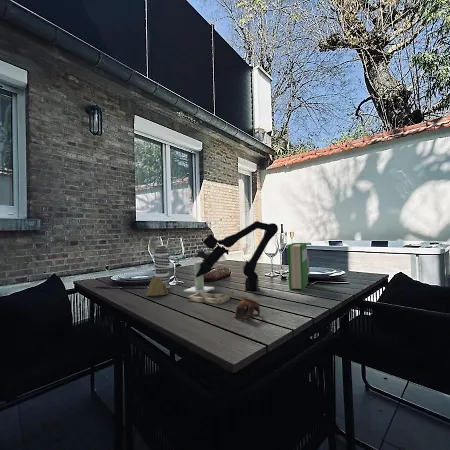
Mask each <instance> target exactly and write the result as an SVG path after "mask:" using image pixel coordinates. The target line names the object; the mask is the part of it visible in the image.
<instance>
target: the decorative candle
mask: <svg viewBox="0 0 450 450" xmlns="http://www.w3.org/2000/svg"><path fill="white" fill-rule="evenodd" d="M153 258H154V259H153V261H154V262H153V264H154V269H155V273H154V274H155V275H154V276H157V277H158V278H159V279H160V280H161V281H162V282H163V283H164V284H165V285H166V287H167V288H168V289H170V284H171V282H170V281H171V280H170V277H171V276H170V272H169V271H170V270H169V269H170V264H169V263H170V261H169V260H170V259H171V258H170V255H169V247H168V246H167V245H164V244H162V245H156V246H155V247H154V255H153Z"/></svg>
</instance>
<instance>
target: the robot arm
mask: <svg viewBox="0 0 450 450" xmlns="http://www.w3.org/2000/svg"><path fill="white" fill-rule="evenodd" d="M258 229H259V230H263V231H264V232H263V236H262V238H261V240H260V242H259V243H258V245H257V247H256V249H255V251H254V252H253V254H252V255H251V257H250V259H249V260H247V259H246V260H245V262H244V264H243V265H242V272H243V275H244V276H245V277H246V278H245V281H244V284H245V285H244V286H245V289H244V290H245V291H250V292H257V291H259V290H260V289H261V288H260V287H259V286H260V285H259V275H258V274H257V272H256V268H257V264H258V262H259V260H260V258H261V256H262V255H263V253H264V251H265V249H266V248H267V245H268V244H269V242H270V240H271V239H272V238H274V236H275V235H276V234H277V232H278V231H279V226H278V225H277V224H276V223H275V222H273V223H266V222H261V221H259V220H256V221H254V222H253V223H251V224H249V225H248V226H246V227H244V228H243V229H241V230H239V231H237V232H236V233H232V234H230V235H228V236H226V237H224V238H223V239H217V238H216V237H215V236H214V235H213V234H212V233H210V234H209V235H208V236H207V237H206V238H205V239H204V240H203V241H202V244H203V245H205V247H207V249H209V250H212V251H211V252H209V253H207V252H205V251H204V250H198V252H197V254H196V257H197V258H201V259H202V261H201V262H202V263H201V264H200V270H199V271H198V273H197V274H196V277H199V276H201V275H203V276H204V275H205V274H208V273H210V272H211V271H212V269H213V267H214V266H215V264H216V263H218V262H219V261H220V259H221V258H222V257H223V255H225V254H226V255H229V250H230V249H229V248H232V247H233V246H234V245H235V244H236V243H237V242H238V241H239V240H240V239H242V238H244V237H245V236H247V235H249V234H251V233H252V232H254V231H255V230H258ZM227 248H228V249H227Z"/></svg>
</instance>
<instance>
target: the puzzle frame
mask: <svg viewBox="0 0 450 450" xmlns="http://www.w3.org/2000/svg"><path fill="white" fill-rule="evenodd" d="M230 298H231V297H230V294H221V293H210V292H206V293H201V292H198V293H193V294H191V295H188V296H187V301H189V302H195V303H196V302H197V303H207V304H208V303H209V304H216V305H217V304H218V305H221V304H224V303H225V302H227V301H229V300H230Z"/></svg>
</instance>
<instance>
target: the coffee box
mask: <svg viewBox="0 0 450 450" xmlns="http://www.w3.org/2000/svg"><path fill="white" fill-rule="evenodd" d="M307 271H308V273H309V274H310V254H309V253H308V252H307Z"/></svg>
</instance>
